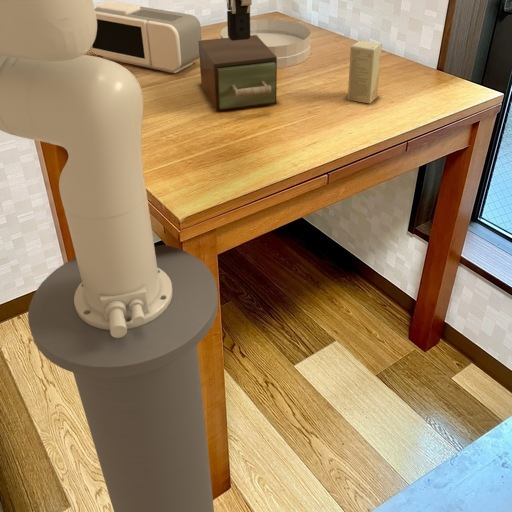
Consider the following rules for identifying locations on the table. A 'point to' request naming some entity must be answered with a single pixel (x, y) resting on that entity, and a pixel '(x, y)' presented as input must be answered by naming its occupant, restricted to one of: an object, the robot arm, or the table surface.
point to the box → (364, 71)
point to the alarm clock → (146, 36)
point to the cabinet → (230, 61)
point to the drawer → (246, 84)
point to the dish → (281, 39)
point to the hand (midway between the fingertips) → (239, 38)
